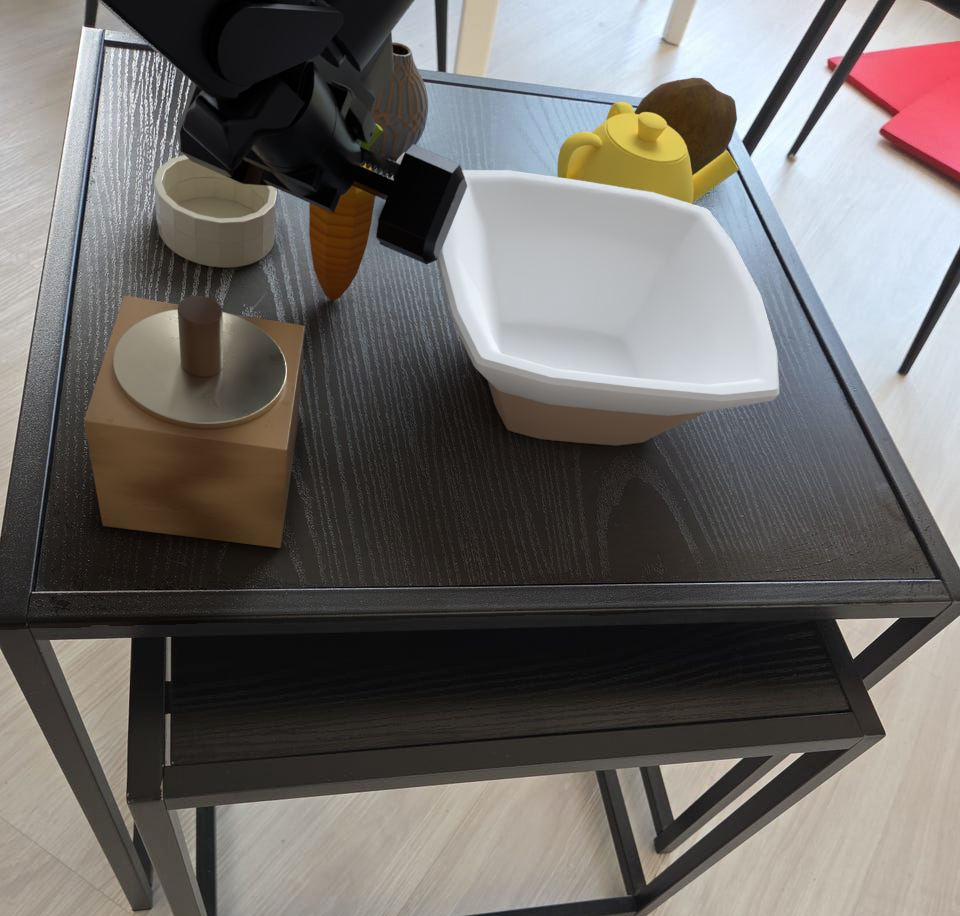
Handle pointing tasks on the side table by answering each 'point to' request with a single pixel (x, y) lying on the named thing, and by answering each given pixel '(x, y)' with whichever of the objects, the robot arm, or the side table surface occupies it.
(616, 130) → the teapot
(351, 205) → the carrot
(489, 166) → the side table surface
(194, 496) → the stand
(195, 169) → the pot
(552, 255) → the bowl
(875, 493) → the side table surface
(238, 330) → the lid
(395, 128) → the vase
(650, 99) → the potato
